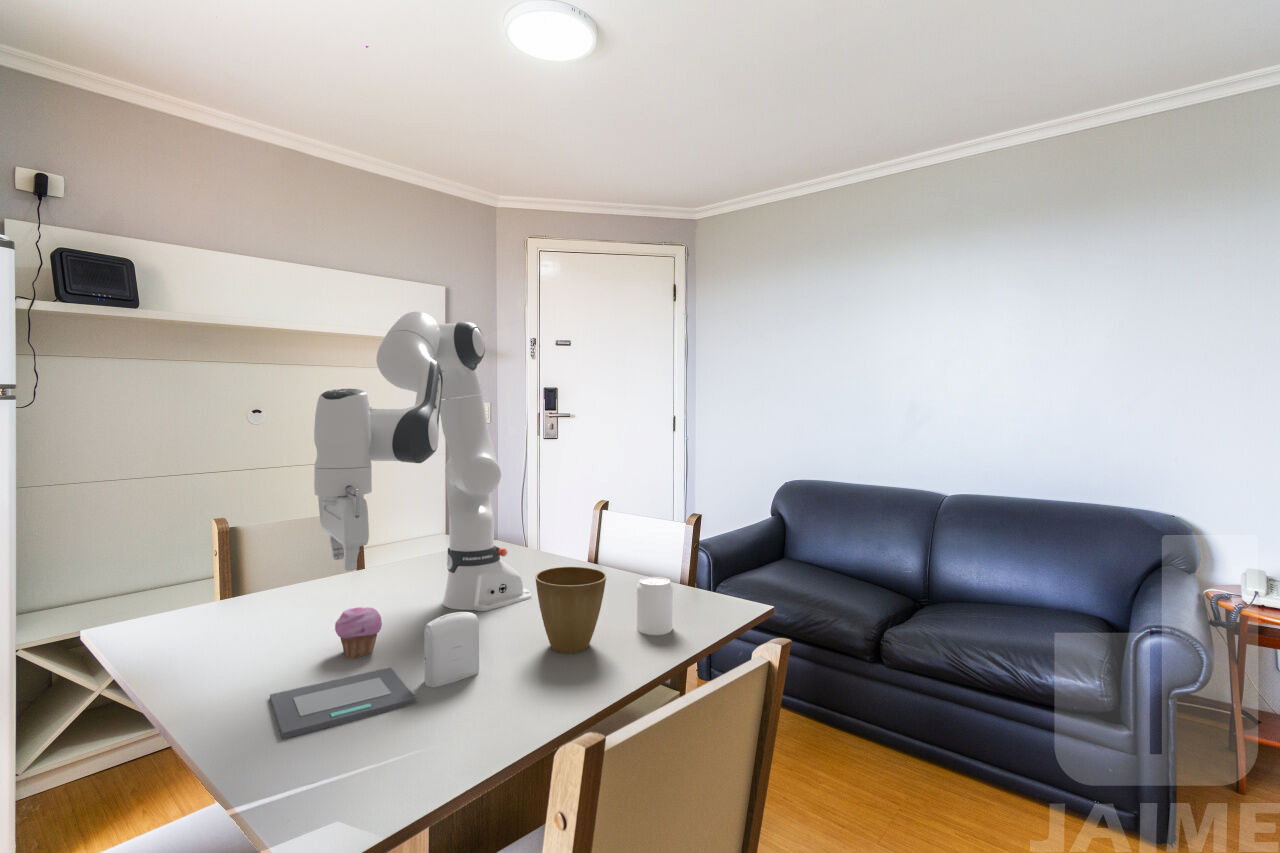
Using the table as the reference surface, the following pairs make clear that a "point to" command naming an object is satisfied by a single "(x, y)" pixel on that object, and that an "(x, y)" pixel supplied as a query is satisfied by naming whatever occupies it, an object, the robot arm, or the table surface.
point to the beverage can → (654, 606)
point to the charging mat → (339, 701)
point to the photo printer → (451, 648)
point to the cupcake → (358, 630)
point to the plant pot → (570, 605)
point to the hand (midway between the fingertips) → (343, 564)
